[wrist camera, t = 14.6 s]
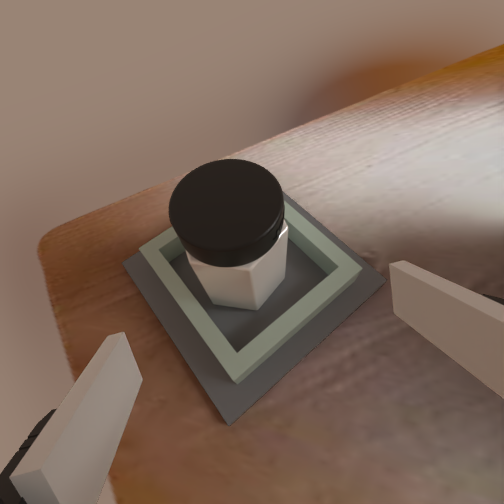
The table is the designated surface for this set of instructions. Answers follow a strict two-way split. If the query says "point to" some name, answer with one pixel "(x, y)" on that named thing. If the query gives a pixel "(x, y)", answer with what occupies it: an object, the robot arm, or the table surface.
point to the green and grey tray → (250, 321)
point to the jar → (232, 230)
